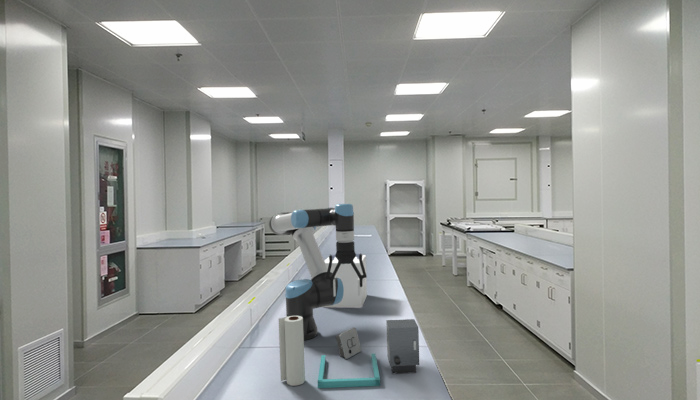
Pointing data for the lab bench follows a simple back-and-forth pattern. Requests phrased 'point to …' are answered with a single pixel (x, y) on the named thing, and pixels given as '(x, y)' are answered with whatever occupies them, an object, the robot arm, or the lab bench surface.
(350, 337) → the electrical switch
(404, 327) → the control unit
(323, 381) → the teal bay
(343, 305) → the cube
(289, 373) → the paper towel roll
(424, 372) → the lab bench surface
